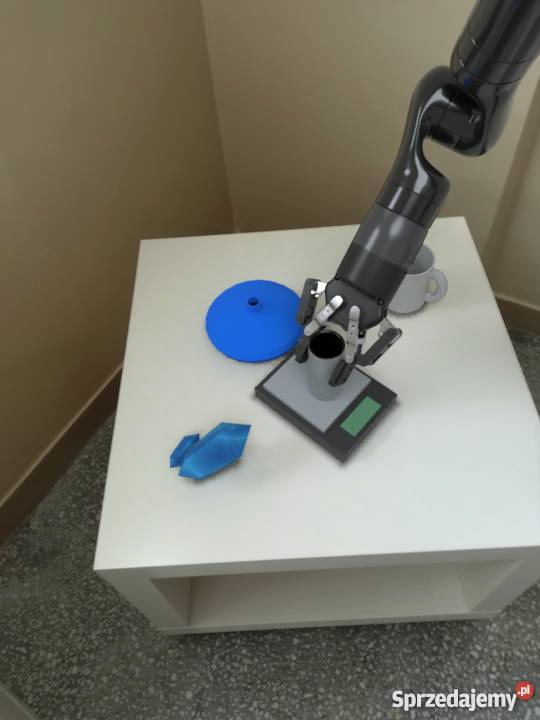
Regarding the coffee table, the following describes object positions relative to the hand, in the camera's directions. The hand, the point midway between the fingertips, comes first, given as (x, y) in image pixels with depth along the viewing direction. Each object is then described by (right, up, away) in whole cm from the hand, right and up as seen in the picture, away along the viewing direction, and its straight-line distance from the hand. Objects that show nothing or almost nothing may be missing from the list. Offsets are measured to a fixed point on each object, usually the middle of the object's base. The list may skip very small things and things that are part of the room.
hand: (316, 372), depth 68 cm
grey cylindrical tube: (+2, -2, +6) cm, 7 cm away
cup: (+17, +11, +17) cm, 27 cm away
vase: (-8, +6, +16) cm, 19 cm away
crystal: (-13, -12, +4) cm, 19 cm away
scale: (+2, -4, +8) cm, 9 cm away
